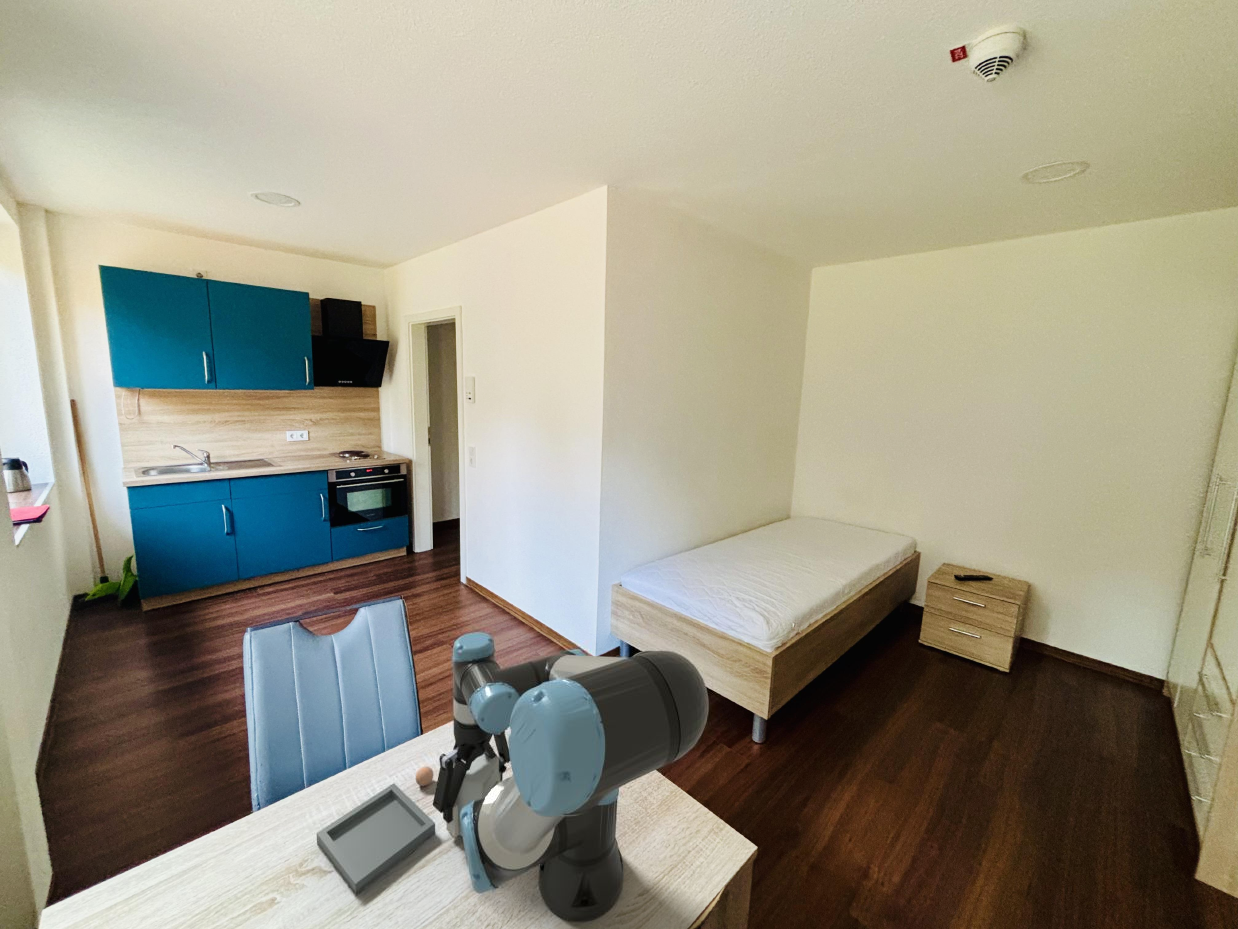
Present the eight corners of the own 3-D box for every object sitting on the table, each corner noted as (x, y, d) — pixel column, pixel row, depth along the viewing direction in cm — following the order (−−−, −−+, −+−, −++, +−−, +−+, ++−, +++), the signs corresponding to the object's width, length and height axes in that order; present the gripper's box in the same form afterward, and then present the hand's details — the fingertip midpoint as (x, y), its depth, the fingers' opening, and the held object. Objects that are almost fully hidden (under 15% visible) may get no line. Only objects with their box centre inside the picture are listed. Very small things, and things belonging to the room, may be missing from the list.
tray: (435, 834, 95) (435, 823, 94) (355, 896, 83) (355, 884, 82) (394, 793, 104) (393, 783, 103) (317, 844, 92) (316, 833, 91)
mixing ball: (436, 782, 107) (436, 768, 106) (421, 793, 104) (421, 778, 103) (427, 774, 109) (427, 760, 108) (412, 784, 106) (412, 769, 106)
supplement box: (482, 842, 94) (482, 784, 92) (447, 833, 95) (446, 776, 93) (499, 810, 101) (500, 755, 99) (466, 802, 102) (466, 748, 100)
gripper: (505, 679, 105) (505, 771, 109) (409, 735, 87) (412, 843, 91) (530, 693, 101) (528, 789, 104) (433, 755, 83) (435, 868, 87)
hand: (474, 814), depth 98 cm, fingers closed on supplement box, 9 cm apart
